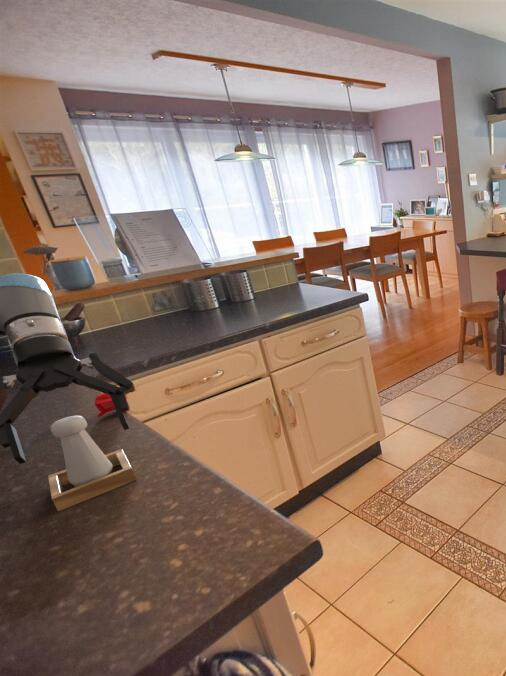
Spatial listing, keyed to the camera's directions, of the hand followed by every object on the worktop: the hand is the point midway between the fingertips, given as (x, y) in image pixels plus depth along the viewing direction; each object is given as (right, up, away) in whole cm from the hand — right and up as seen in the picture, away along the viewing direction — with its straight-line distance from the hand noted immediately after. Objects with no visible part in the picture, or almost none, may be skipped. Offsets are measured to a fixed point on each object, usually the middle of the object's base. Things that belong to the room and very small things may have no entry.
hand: (76, 442), depth 76 cm
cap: (-18, 0, +27) cm, 33 cm away
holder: (+2, -8, +1) cm, 8 cm away
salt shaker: (+2, -8, +1) cm, 8 cm away
